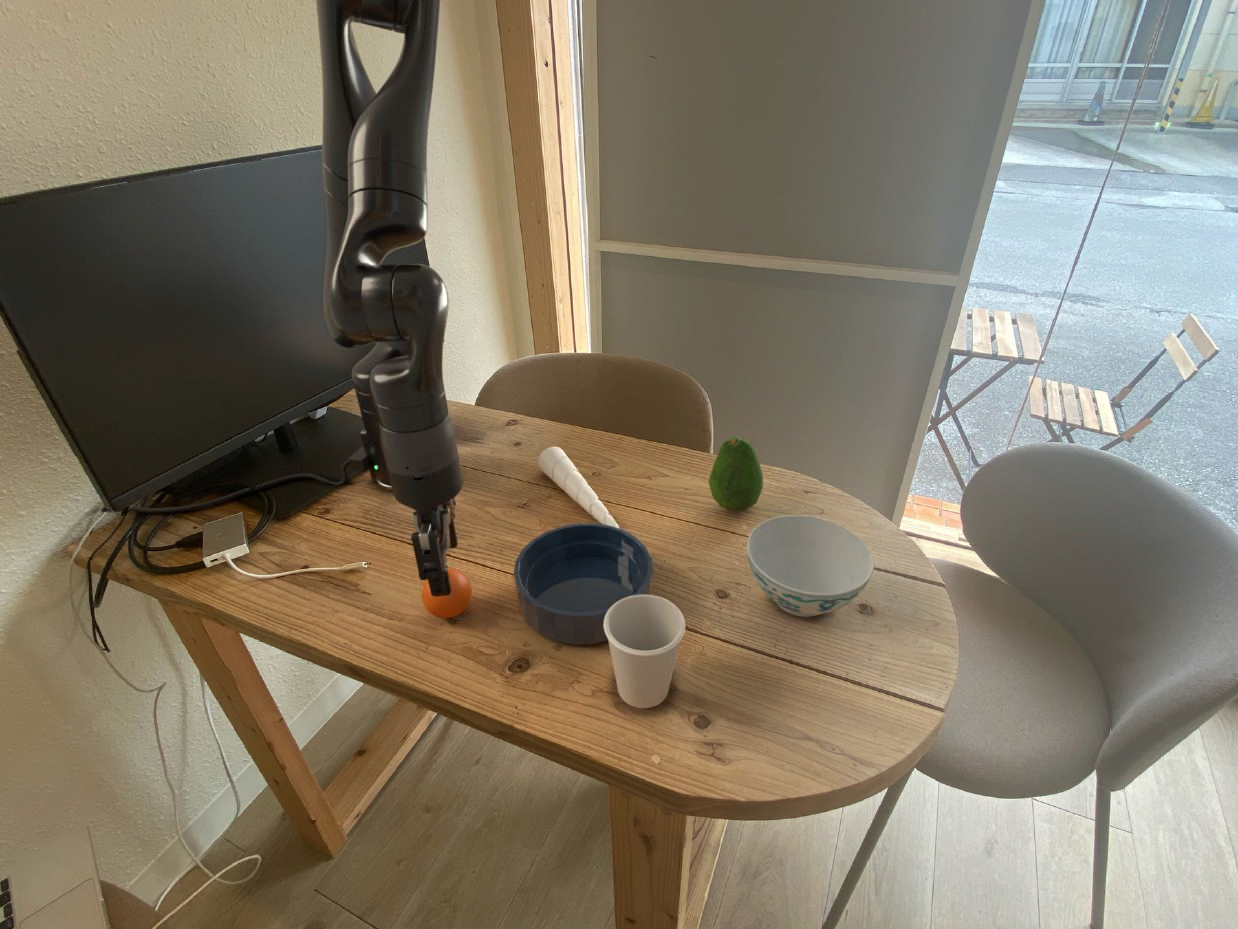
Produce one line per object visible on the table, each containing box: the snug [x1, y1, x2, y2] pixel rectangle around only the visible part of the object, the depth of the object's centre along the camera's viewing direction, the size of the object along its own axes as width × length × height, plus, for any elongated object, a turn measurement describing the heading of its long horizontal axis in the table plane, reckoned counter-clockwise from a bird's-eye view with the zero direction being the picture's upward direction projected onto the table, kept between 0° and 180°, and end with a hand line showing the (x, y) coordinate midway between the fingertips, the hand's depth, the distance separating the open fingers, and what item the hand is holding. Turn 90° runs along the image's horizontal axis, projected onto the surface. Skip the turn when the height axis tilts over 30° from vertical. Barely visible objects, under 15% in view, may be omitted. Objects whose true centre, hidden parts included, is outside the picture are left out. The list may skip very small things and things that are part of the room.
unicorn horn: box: [537, 446, 620, 529], centre depth 98 cm, size 5×24×5 cm, turn 29°
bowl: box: [513, 522, 654, 645], centre depth 81 cm, size 17×17×6 cm
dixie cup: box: [604, 594, 686, 709], centre depth 68 cm, size 8×8×10 cm
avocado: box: [708, 436, 764, 512], centre depth 96 cm, size 8×8×12 cm
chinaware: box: [746, 514, 875, 618], centre depth 80 cm, size 15×15×8 cm
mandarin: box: [421, 568, 473, 619], centre depth 79 cm, size 6×6×6 cm
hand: (445, 569), depth 77 cm, fingers open, 8 cm apart
